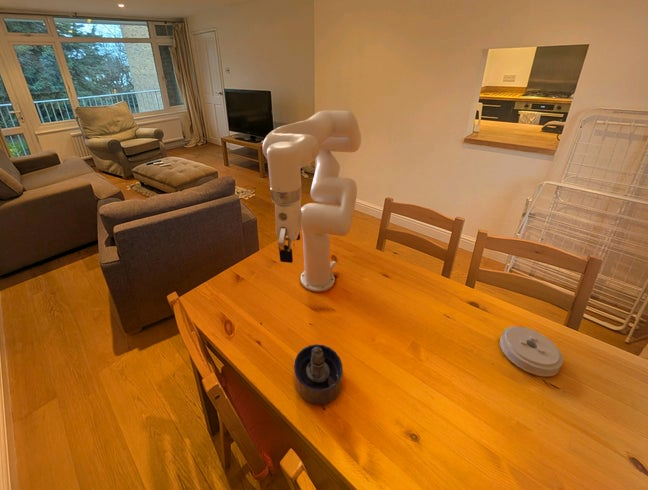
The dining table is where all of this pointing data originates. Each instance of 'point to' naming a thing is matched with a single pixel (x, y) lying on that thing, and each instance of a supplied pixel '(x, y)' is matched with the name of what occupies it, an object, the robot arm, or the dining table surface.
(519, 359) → the lid
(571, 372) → the dining table surface
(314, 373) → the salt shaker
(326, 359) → the dark blue round container
